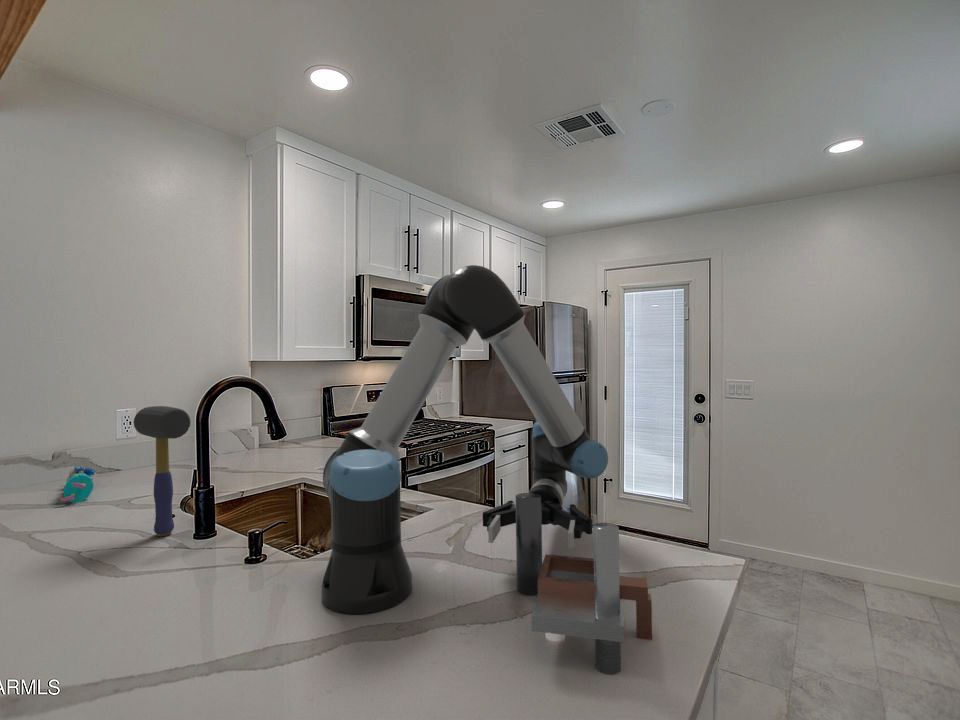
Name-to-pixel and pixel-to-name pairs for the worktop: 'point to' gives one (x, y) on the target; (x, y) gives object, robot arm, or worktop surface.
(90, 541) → the worktop surface
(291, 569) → the worktop surface
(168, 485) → the rubber mallet
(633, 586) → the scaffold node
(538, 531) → the pin
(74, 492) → the toy
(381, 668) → the worktop surface
